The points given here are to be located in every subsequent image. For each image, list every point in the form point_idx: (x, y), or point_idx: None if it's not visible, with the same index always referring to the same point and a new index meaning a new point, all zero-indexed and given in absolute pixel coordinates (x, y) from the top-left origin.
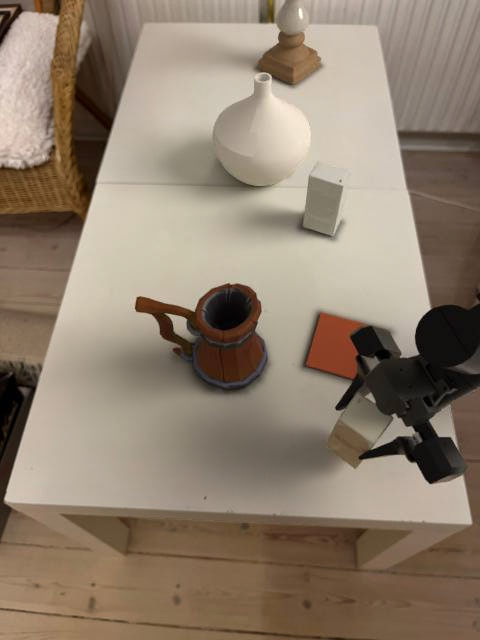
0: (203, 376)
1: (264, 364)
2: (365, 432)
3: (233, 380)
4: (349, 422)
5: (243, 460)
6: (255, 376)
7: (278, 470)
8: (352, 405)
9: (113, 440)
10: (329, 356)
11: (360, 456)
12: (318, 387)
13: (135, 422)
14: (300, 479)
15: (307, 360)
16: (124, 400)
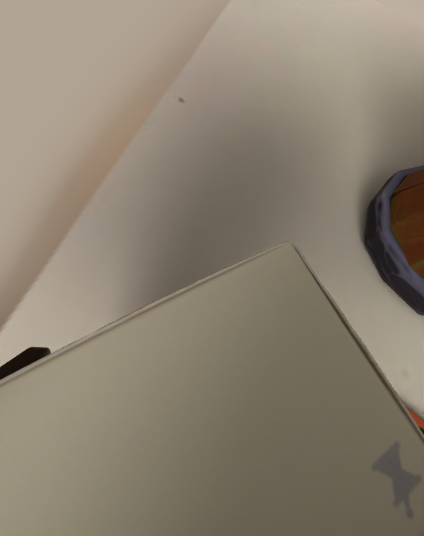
0: (406, 169)
1: (419, 296)
2: (95, 383)
3: (394, 209)
4: (235, 289)
5: (222, 181)
6: (395, 262)
7: (176, 230)
8: (366, 385)
9: (313, 43)
10: None
11: (38, 355)
12: None
13: (334, 75)
14: (138, 263)
15: (414, 414)
16: (370, 78)
